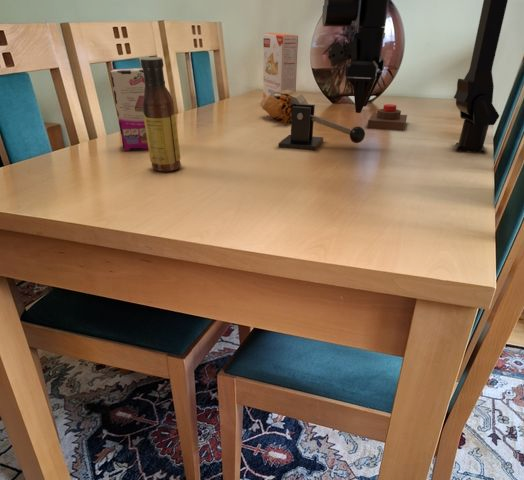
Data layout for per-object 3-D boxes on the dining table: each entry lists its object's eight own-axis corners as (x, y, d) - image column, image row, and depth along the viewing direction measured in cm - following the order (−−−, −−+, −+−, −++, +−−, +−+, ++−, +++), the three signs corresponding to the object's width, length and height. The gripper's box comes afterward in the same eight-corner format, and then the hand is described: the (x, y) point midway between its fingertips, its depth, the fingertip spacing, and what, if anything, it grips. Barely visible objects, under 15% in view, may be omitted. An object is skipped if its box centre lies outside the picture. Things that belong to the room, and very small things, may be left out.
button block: (403, 131, 129) (405, 115, 127) (367, 128, 131) (369, 113, 129) (405, 123, 138) (408, 108, 136) (372, 120, 141) (374, 106, 138)
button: (394, 113, 131) (396, 106, 130) (382, 112, 132) (383, 105, 131) (396, 111, 134) (397, 104, 133) (383, 110, 134) (384, 103, 133)
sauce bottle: (167, 163, 101) (156, 55, 89) (187, 168, 97) (178, 57, 85) (144, 169, 96) (128, 57, 85) (163, 175, 93) (150, 59, 81)
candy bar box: (168, 143, 115) (160, 67, 105) (170, 148, 111) (162, 69, 101) (122, 146, 112) (109, 67, 102) (123, 151, 108) (109, 70, 99)
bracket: (323, 142, 117) (326, 103, 112) (314, 151, 110) (317, 110, 104) (289, 139, 120) (290, 101, 114) (278, 148, 112) (279, 108, 107)
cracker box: (262, 104, 164) (262, 32, 151) (277, 103, 166) (279, 32, 153) (279, 110, 153) (281, 34, 141) (295, 109, 155) (299, 34, 143)
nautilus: (301, 131, 130) (249, 131, 133) (312, 112, 146) (266, 113, 149) (301, 100, 125) (247, 100, 128) (312, 84, 141) (265, 85, 144)
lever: (362, 143, 112) (368, 128, 109) (360, 146, 109) (366, 131, 107) (297, 118, 113) (301, 103, 111) (293, 121, 110) (298, 105, 108)
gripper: (341, 25, 106) (334, 101, 115) (324, 27, 92) (318, 114, 101) (390, 26, 103) (379, 104, 113) (381, 28, 89) (369, 117, 98)
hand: (361, 109), depth 106 cm, fingers open, 9 cm apart
